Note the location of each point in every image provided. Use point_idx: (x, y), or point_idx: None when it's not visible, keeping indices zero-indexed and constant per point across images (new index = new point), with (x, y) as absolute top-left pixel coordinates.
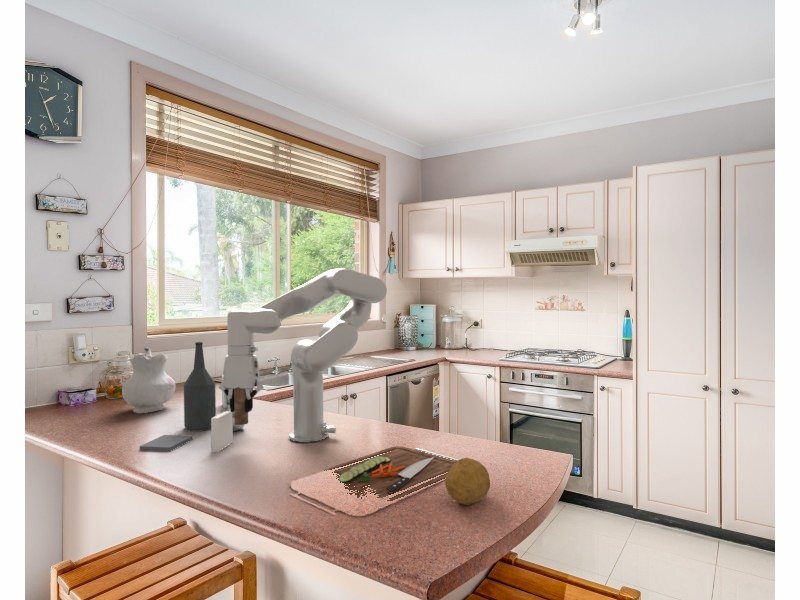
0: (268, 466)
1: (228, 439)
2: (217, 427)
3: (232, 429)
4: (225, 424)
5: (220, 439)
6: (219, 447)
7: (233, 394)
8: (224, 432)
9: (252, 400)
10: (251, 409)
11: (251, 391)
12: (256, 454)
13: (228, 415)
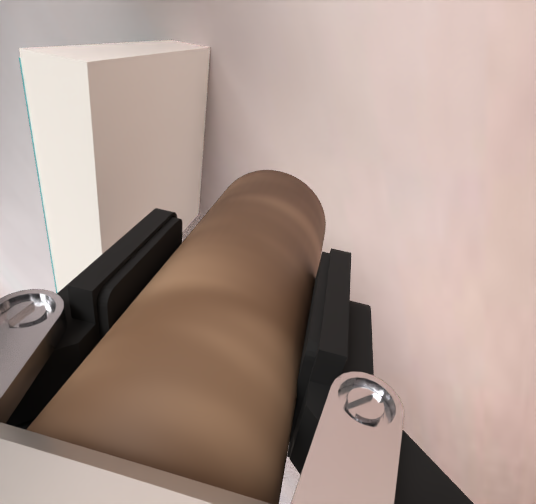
0: (468, 410)
1: (193, 112)
2: None
3: (175, 52)
4: (142, 178)
5: (178, 214)
6: (193, 208)
7: (42, 377)
8: (167, 177)
9: (370, 372)
10: (348, 259)
11: (351, 500)
12: (400, 274)
13: (107, 143)
